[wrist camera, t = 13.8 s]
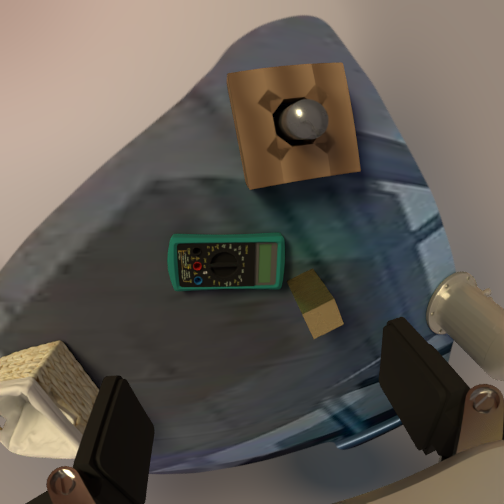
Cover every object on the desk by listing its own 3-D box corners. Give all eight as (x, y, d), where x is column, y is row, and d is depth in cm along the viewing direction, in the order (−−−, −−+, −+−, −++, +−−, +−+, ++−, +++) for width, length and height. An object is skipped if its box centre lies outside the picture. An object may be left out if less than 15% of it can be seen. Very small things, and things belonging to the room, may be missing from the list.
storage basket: (35, 409, 48) (13, 457, 34) (-9, 353, 43) (-43, 397, 29) (113, 397, 48) (94, 460, 34) (62, 328, 42) (23, 387, 28)
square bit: (312, 268, 42) (334, 298, 34) (322, 291, 44) (343, 324, 35) (286, 281, 43) (302, 314, 34) (297, 303, 44) (313, 338, 36)
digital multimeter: (168, 232, 39) (164, 239, 36) (282, 231, 41) (287, 237, 38) (172, 284, 42) (169, 293, 39) (279, 282, 43) (283, 291, 40)
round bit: (301, 107, 35) (324, 97, 27) (306, 137, 36) (331, 136, 28) (269, 111, 35) (284, 101, 26) (275, 142, 36) (292, 141, 28)
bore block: (328, 71, 34) (342, 62, 29) (344, 167, 38) (360, 171, 33) (226, 82, 33) (227, 73, 28) (246, 184, 38) (249, 189, 33)
